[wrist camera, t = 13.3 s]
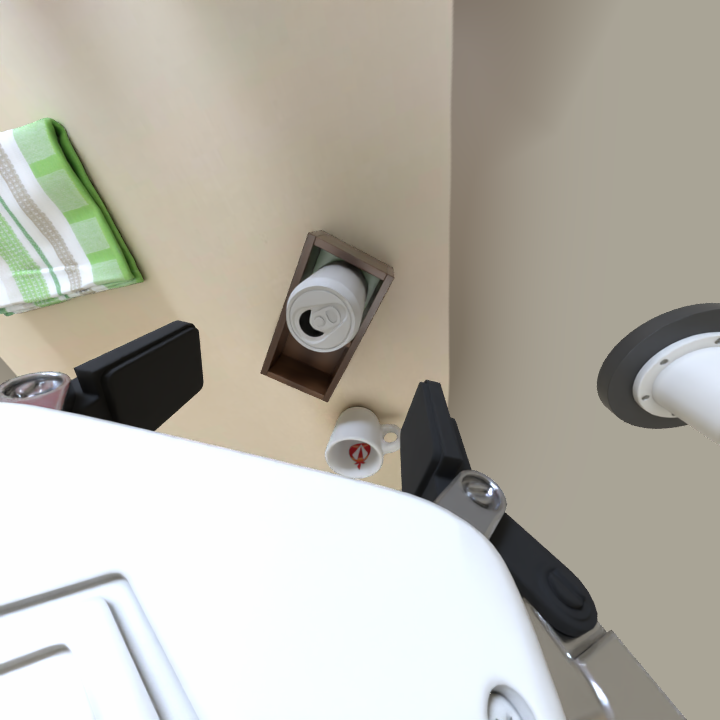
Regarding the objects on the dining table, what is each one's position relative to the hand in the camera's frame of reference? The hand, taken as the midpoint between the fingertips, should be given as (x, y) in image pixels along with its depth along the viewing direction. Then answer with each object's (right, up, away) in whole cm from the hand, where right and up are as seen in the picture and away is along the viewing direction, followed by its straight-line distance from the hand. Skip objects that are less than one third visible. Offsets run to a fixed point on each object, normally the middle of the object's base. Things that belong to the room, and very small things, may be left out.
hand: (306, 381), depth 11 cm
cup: (+3, -8, +31) cm, 33 cm away
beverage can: (0, +10, +21) cm, 23 cm away
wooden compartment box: (-2, +7, +23) cm, 24 cm away
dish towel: (-38, +17, +22) cm, 47 cm away
